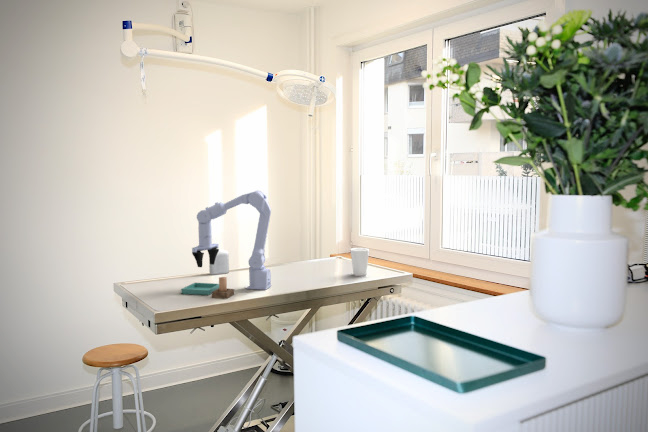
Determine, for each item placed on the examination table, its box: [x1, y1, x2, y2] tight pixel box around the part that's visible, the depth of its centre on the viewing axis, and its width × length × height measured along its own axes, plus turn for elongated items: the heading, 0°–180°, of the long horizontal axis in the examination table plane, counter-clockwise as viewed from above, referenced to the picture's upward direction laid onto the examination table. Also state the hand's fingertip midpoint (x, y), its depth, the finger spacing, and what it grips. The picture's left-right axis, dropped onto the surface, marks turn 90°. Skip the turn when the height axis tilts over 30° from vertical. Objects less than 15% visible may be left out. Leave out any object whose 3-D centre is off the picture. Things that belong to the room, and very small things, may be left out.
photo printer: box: [208, 249, 230, 276], centre depth 283 cm, size 10×4×12 cm, turn 123°
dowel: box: [218, 276, 228, 292], centre depth 236 cm, size 3×3×8 cm
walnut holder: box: [211, 288, 235, 299], centre depth 237 cm, size 7×7×2 cm
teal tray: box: [180, 282, 219, 296], centre depth 246 cm, size 13×13×2 cm
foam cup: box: [350, 247, 370, 277], centre depth 279 cm, size 10×9×13 cm
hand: (206, 265), depth 252 cm, fingers open, 7 cm apart
